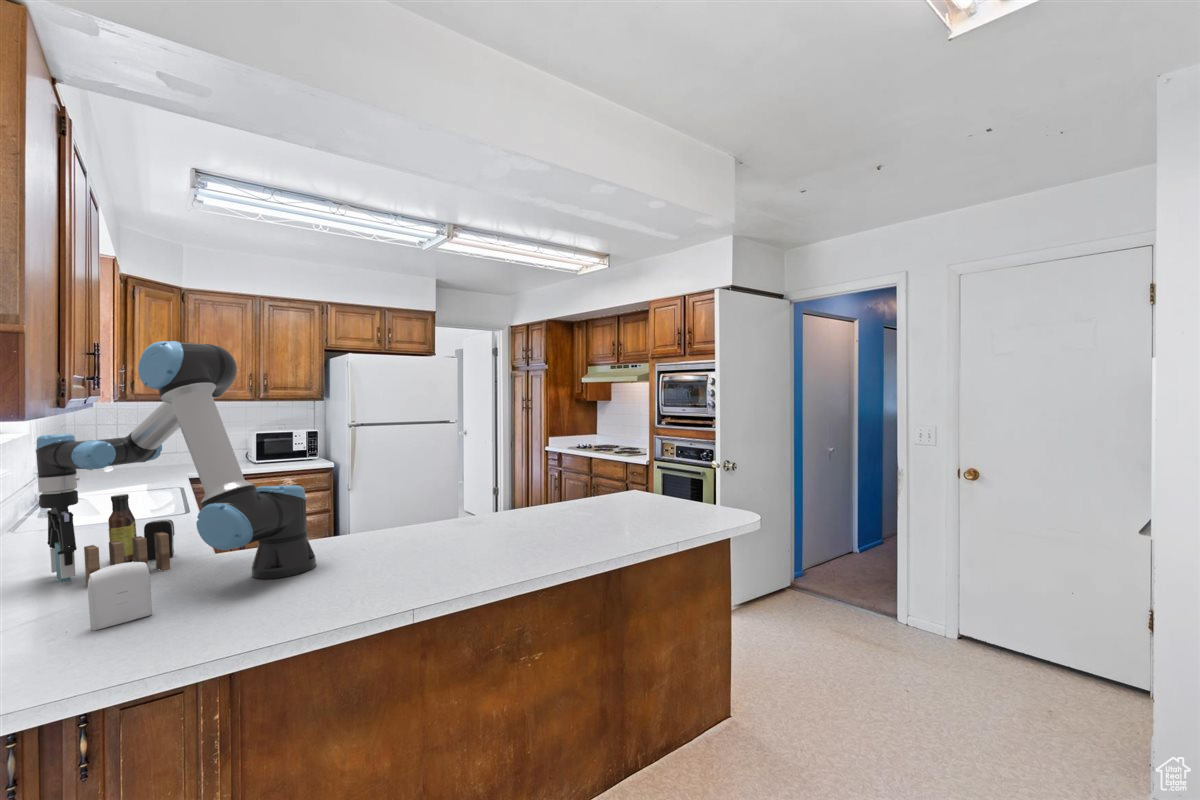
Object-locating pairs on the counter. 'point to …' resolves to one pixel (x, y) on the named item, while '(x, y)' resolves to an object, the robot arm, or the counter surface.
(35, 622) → the counter surface
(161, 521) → the battery charger
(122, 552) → the domino
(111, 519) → the sauce bottle
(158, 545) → the domino
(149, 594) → the photo printer
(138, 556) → the domino
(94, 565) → the domino
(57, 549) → the domino
